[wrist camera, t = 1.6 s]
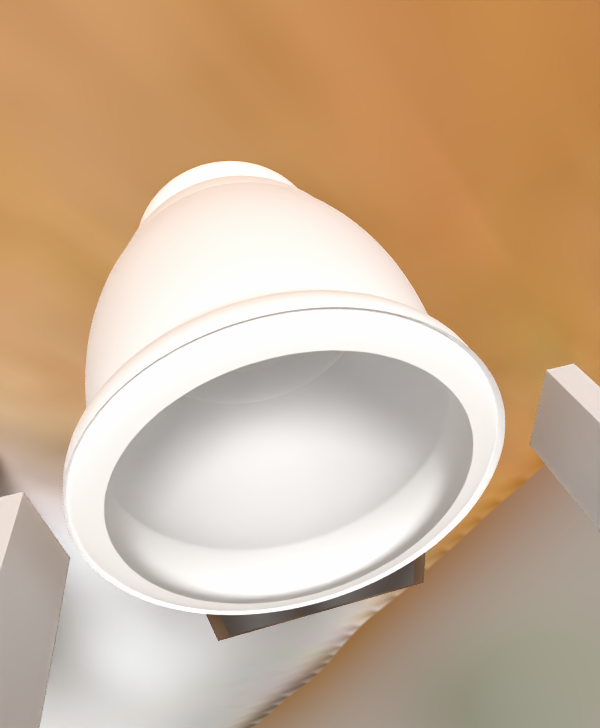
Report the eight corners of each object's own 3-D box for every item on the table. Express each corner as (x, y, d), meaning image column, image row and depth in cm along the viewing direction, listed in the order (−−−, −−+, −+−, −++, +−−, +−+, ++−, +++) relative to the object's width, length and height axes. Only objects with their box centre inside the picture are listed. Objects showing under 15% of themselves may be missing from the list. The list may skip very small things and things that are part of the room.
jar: (335, 116, 21) (551, 263, 10) (342, 322, 28) (478, 566, 16) (77, 151, 20) (-42, 373, 8) (146, 360, 26) (134, 658, 14)
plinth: (214, 595, 40) (218, 646, 37) (156, 458, 30) (155, 512, 27) (405, 542, 42) (425, 587, 39) (408, 397, 32) (435, 441, 29)
